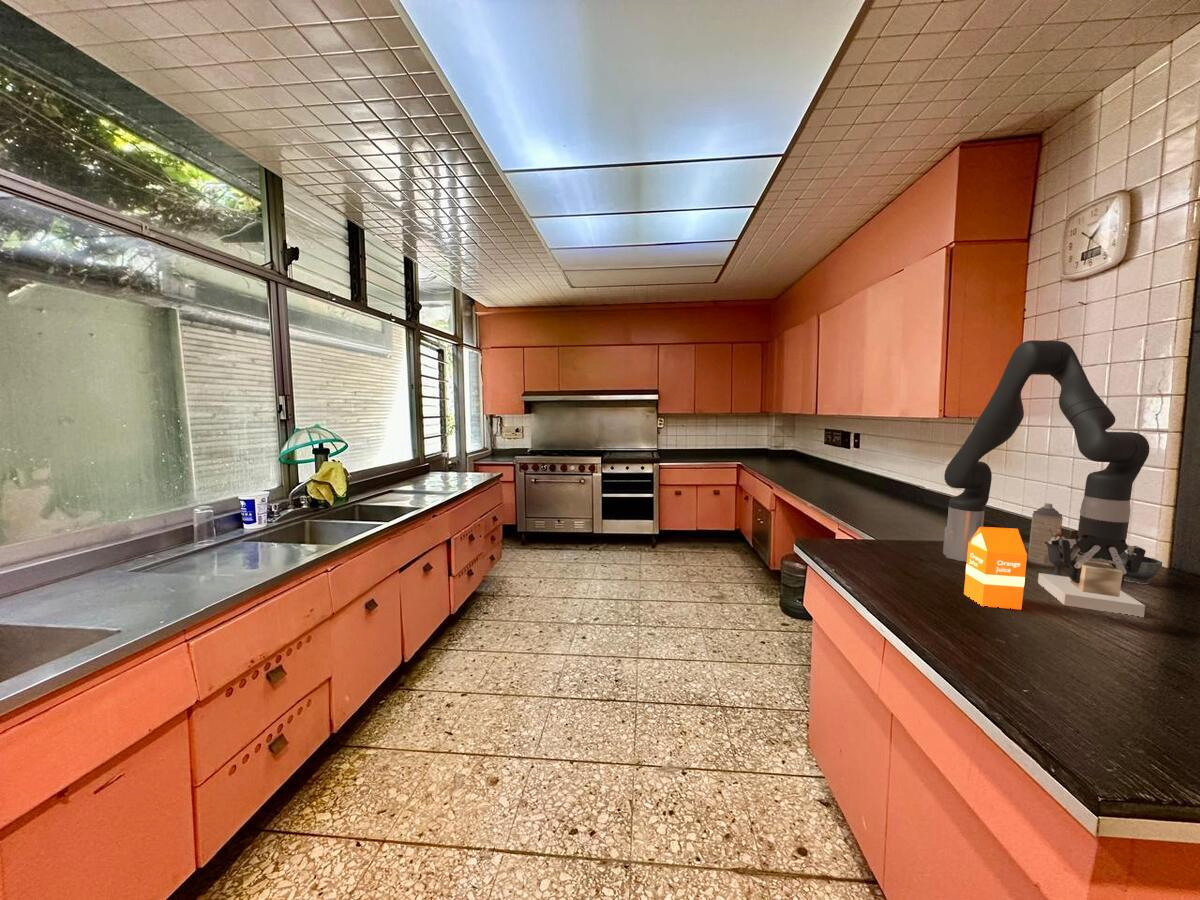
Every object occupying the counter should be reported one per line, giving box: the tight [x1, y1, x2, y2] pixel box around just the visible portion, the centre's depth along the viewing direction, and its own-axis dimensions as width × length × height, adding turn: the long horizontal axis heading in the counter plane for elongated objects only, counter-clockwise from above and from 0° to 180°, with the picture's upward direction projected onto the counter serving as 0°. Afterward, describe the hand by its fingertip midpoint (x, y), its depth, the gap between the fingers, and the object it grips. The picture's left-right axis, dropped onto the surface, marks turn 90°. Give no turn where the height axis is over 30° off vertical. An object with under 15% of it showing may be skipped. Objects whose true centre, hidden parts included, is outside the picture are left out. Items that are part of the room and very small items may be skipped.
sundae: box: [1044, 527, 1078, 576], centre depth 129 cm, size 7×7×15 cm
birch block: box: [1070, 560, 1123, 597], centre depth 103 cm, size 6×6×6 cm
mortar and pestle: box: [1109, 551, 1163, 583], centre depth 127 cm, size 11×9×12 cm
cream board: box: [1037, 572, 1146, 618], centre depth 115 cm, size 14×16×3 cm
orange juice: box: [963, 526, 1028, 610], centre depth 113 cm, size 8×9×20 cm
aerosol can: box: [1027, 502, 1064, 568], centre depth 140 cm, size 7×7×20 cm
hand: (1094, 584), depth 103 cm, fingers closed on birch block, 6 cm apart
